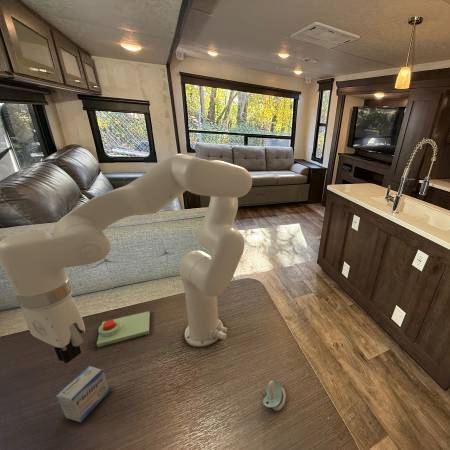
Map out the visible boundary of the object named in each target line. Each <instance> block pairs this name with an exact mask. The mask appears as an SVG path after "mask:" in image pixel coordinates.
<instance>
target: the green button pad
mask: <svg viewBox="0 0 450 450" xmlns="http://www.w3.org/2000/svg"><path fill="white" fill-rule="evenodd" d="M150 317H151V312H150V311H144V312H139V313H135V314H131V315H126V316H123V317H122V316H121V317H119V318H114V319H112V320H114V321H115V327H114V328H113V329H111V330H107V331H106V330H104V326H103V324H104V323H105V322H106V321H107V320H104V321H102V322H101V325H100V326H98V329H97V330H98V337H97V341H96V346H97V348H101V347H104V346H108V345H112V344H116V343H119V342H123V341H127V340H131V339H135V338H138V337H142V336H146V335H149V334H150V323H151V322H150Z"/></svg>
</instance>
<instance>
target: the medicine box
mask: <svg viewBox="0 0 450 450" xmlns="http://www.w3.org/2000/svg"><path fill="white" fill-rule="evenodd" d="M109 392H110V388H109V385H108V381H107V379H106V375H105V372H104V370H103V369H101V368H97V367H94V366H91V365H88V366H87V367H86V368H85V369H84V370H83V371H81V372H80V373H79V374H78V375H77V376H76V377H75V378H73V380H71V381H70V382H69V383H68V384H67V385H66V386H65V387H63V389H62V390H61V391H59V392H58V393H57V394H55V398H56V399H57V402H58V404H59V407H60V408H61V410H62V412H63V414H64V417H65V418H66V419H68V420H72V421H74V422H78V423H82V422H83V421H84V420H85V419H86V418H87V417H88V415H89V414H90V413H91V412H92V411H93V410H94V409H95V408H96V407H97V406H98V404H99V403H100V402H101V401H102V400H104V398H105V397H106V396H107V395H108V394H109Z"/></svg>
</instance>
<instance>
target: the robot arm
mask: <svg viewBox="0 0 450 450" xmlns="http://www.w3.org/2000/svg"><path fill="white" fill-rule="evenodd" d="M252 186H253V177H252V175H251V173H250V172H249V171H248V170H247V169H246V168H245V167H242V166H239V165H236V164H232V163H230V162H226V161H222V160H216V159H214V160H212V159H211V160H207V159H203V158H200V157H197V156H194V155H192V154H188V153H176V154H173V155H171V156H169V157H168V158H166V159H165V160H163V161H161V162H160V163H159V164H157V165H155V166H154V167H153V168H151V169H150V170H148V171H147V172H145V173H144V174H142V175H140V176H139V177H137V178H136V179H134V180H132V181H131V182H129V183H128V184H126V185H123V186H120V187H117V188H114V189H112V190H110V191H107V192H105V193H101V194H98V195H97V196H95V197H92V198H91V199H89V200H87V201H85V202H84V203H82V204H80V205H79V206H77V207H76V208H74V209H72V210H71V211H69V212H68V213H66V214H65V215H64V216H62V217H61V218H60V219H58V221H57V222H56V223H55V225H54V226H53V229H52V234H51V233H49V232H47V231H43V230H34V231H33V230H32V231H31V230H30V231H24V232H18V233H15V234H11V235H9V236H6V237H3V238H2V239H0V264H1V266H2V269H3V270H4V273H5V275H6V277H7V280H8V282H9V284H10V286H11V289H12V291H13V293H14V295H15V297H16V300H17V302H18V304H19V306H20V309H22V314H23V316H24V319H25V322H26V325H27V327H28V331H29V333H30V335H31V336H33V337H34V338H36V339H37V340H40V341H42V342H43V343H46V344H49V345H51V346H52V347H53V349H54V352H55V355H56V357H57V359H58V361H60V362H63V363H64V364H68V363H69V362H71V361H72V360H74V359H75V358H76V357H78V356H79V355H80V354H82V350H81V347H80V346H81V345H82V344H84V343H85V341H84V339H83V337H82V334H85V333H86V326H85V322H84V319H83V316H82V315H81V312H80V310H79V307H78V306H77V304H76V302H75V300H74V298H73V296H72V294H73V288H72V285H71V282H70V279H69V275H68V273H67V270H66V268H72V267H73V268H74V267H80V266H81V267H82V266H86V265H91V264H95V263H98V262H100V261H102V260H103V259H105V258H106V257H107V256H108V255H109V253H110V252H111V249H112V243H111V241H110V239H109V237H108V235H106V234H105V233H104V231H105V230H106V229H108V227H110V226H112V225H113V224H115V223H116V222H118V221H120V220H123V219H125V218H129V217H133V216H147V215H153V214H157V213H159V212H160V211H162V210H163V209H164V208H165V207H167V206H168V205H169V204H170V203H172V202H173V201H174V200H176V199H177V198H178V197H179V196H181V195H183V194H184V193H186V191H187V192H190V193H191V194H194V195H198V196H203V197H204V196H205V197H210V199H209V205H208V207H207V210H206V213H205V215H204V217H203V219H202V222H201V224H200V226H199V229H198V231H197V234H196V241H197V244H198V245H200V247H201V248H203V249H204V250H205V251H207V252H208V253H207V252H205V251H203V250H191V251H188V252H186V253H185V255H184V256H183V257H182V258H181V259H180V262H179V267H178V269H179V275H180V279H181V283H182V287H183V289H184V296H185V305H186V314H187V322H188V325H187V327H186V328H185V331H184V339H185V341H186V343H187V344H188V345H190V346H192V347H199V348H200V347H201V348H202V347H207V346H210V345H212V344H213V343H215V342H217V341H218V340H219V339H220V340H224V341H225V340H226V338H227V335H228V334H227V331H228V328H227V327H225V326H224V324H223V322H222V320H220V319H219V310H218V296H220V295H222V294H223V293H224V292H225V291H226V290H227V289H228V288H229V286H230V284H231V283H232V280H233V278H234V276H235V273H236V271H237V269H238V266H239V263H240V261H241V259H242V257H243V253H244V251H245V239H244V238H245V237H244V236H243V234H242V233H241V232H240V231H238V230H237V229H235V228H233V224H234V222H235V219H236V216H237V213H238V210H239V209H238V208H239V200H238V198H242V197H244V196H245V195H247V194H248V193H249V192H250V191H251V188H252ZM209 253H210V254H211V255H210V254H209Z"/></svg>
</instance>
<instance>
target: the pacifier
mask: <svg viewBox="0 0 450 450" xmlns="http://www.w3.org/2000/svg"><path fill="white" fill-rule="evenodd" d="M265 393H266V395H265V396H264V398H263V400H262V405H263V406H264V407H266V408H270V409H273V410H274V411H280V410H281V409H283V408H284V406H285V403H286V400H287V393H286V390H285V388H284V387H283V386H282V385H281V383H280V382H279V381H278V380H276V379H271V380H270V381H268V382H267V383H266V387H265Z"/></svg>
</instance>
